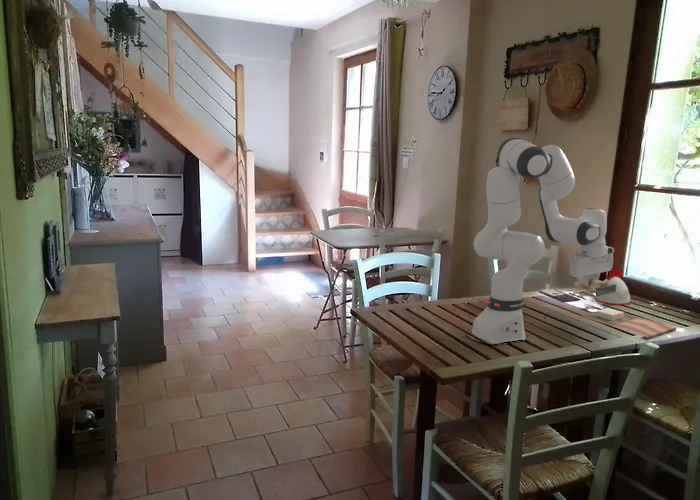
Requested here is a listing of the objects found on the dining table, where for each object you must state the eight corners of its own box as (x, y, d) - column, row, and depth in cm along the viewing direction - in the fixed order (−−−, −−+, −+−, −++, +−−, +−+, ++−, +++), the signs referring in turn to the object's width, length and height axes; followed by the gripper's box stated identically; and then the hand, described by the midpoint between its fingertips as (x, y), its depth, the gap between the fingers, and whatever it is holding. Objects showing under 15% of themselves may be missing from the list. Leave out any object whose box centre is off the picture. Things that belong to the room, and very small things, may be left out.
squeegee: (567, 286, 206) (567, 277, 206) (584, 283, 211) (585, 273, 210) (597, 296, 194) (598, 285, 193) (615, 291, 199) (616, 281, 198)
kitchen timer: (637, 305, 226) (640, 271, 223) (610, 308, 223) (612, 274, 220) (614, 296, 239) (616, 265, 236) (588, 299, 236) (590, 267, 233)
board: (647, 339, 187) (647, 336, 187) (579, 318, 211) (579, 316, 211) (676, 330, 196) (676, 327, 196) (608, 310, 220) (608, 308, 220)
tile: (612, 320, 205) (612, 315, 204) (596, 315, 211) (596, 310, 210) (623, 317, 208) (624, 312, 208) (607, 312, 214) (608, 307, 214)
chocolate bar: (563, 301, 233) (538, 291, 250) (563, 303, 233) (538, 293, 250) (580, 299, 235) (554, 289, 252) (580, 301, 235) (554, 291, 252)
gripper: (580, 255, 192) (578, 291, 195) (617, 248, 202) (614, 282, 204) (566, 252, 198) (564, 287, 201) (602, 245, 207) (600, 279, 210)
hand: (590, 284), depth 203 cm, fingers closed on squeegee, 2 cm apart
